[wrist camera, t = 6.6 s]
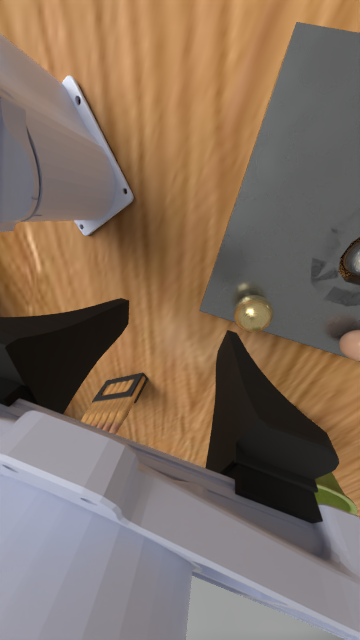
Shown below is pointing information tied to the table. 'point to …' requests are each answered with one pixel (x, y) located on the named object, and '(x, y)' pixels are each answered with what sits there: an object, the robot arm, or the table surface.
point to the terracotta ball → (351, 345)
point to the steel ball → (353, 259)
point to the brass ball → (253, 313)
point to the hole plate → (300, 198)
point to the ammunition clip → (114, 402)
